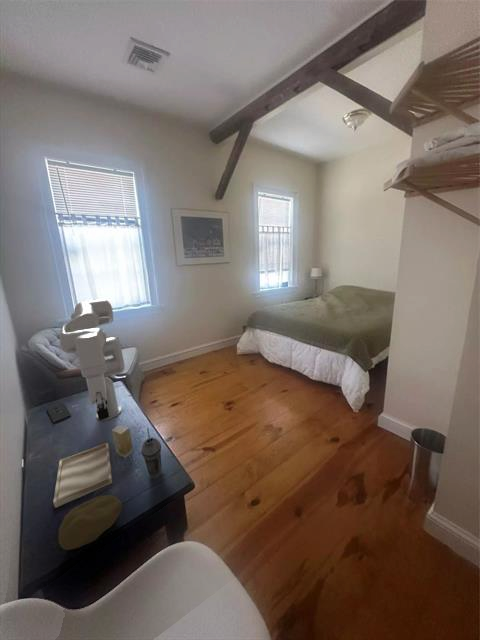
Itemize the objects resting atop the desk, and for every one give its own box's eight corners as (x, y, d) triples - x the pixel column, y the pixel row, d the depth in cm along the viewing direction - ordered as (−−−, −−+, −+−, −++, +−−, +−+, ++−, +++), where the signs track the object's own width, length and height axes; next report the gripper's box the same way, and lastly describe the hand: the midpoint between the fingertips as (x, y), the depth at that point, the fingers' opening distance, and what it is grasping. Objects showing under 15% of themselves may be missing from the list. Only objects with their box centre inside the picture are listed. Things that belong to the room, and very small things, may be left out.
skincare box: (115, 453, 110) (110, 429, 107) (124, 447, 114) (119, 423, 110) (125, 458, 107) (120, 434, 104) (134, 451, 111) (129, 427, 107)
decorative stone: (118, 501, 88) (113, 478, 85) (129, 526, 80) (123, 501, 77) (60, 538, 77) (52, 513, 75) (65, 570, 69) (56, 543, 66)
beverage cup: (147, 484, 94) (138, 439, 89) (144, 470, 100) (136, 427, 95) (167, 476, 97) (159, 432, 92) (163, 463, 103) (156, 421, 98)
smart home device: (62, 401, 152) (71, 414, 138) (63, 404, 153) (72, 417, 139) (45, 408, 146) (53, 422, 133) (46, 410, 147) (53, 425, 133)
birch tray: (61, 464, 106) (59, 460, 105) (108, 447, 114) (107, 442, 113) (55, 507, 87) (53, 502, 86) (112, 482, 96) (111, 477, 95)
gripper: (82, 363, 93) (91, 404, 97) (80, 381, 79) (91, 428, 83) (104, 358, 97) (112, 397, 101) (107, 375, 82) (116, 420, 86)
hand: (103, 411), depth 92 cm, fingers open, 9 cm apart
